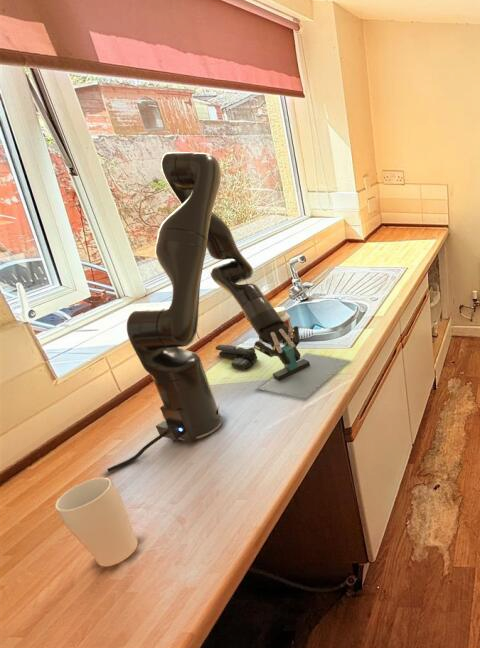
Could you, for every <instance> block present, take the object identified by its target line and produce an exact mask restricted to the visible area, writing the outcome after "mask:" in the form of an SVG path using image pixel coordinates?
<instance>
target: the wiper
mask: <svg viewBox="0 0 480 648" xmlns="http://www.w3.org/2000/svg"><path fill="white" fill-rule="evenodd" d="M281 349H282V351H283V352H284V353H285V354H286V356H287V357H288V359H289V360H290V362H291V363H290V365H286V364H285V365H284V364H283V367H284V368H281V369H279V370H277V371H275V372H273V373H272V378H275V379H277V380H278V381H280V380H282V379H284V378H286V377H288V376H290V375H292V374H294V373H296V372H298V371H300V370H302V369H304V368H306V367H308V366H310V363H309V361H307V360H305V359H302V360H300V361H298V362H297V361H296V357H295V353H294V348H293V347H291V346H289V345H286V346H284V345H283V346H282V347H281Z"/></svg>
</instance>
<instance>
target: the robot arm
mask: <svg viewBox="0 0 480 648" xmlns="http://www.w3.org/2000/svg"><path fill="white" fill-rule="evenodd" d="M160 166H161V171H162V174H163V176H164V178H165V180H166V183H167V184H168V186H169V188H170V189H171V191H172V192H173V193H174V195H175V197H176V198H177V199H178V201H179V203H180V204H181V205H179V206H178V207H177V208H176V209H175V210H174V211H173V212H171V213H170V215H168V217H166V218H165V220H164V221H163V222H162V223H161V225H160V227H159V229H158V234H157V238H156V244H155V248H154V252H155V253H154V254H155V256H156V260H157V261H158V263H159V265H160V266H161V268H162V270H163V271H164V273H165V274H166V276H167V277H168V279H169V281H170V283H171V286H172V297H171V298H172V299H171V302H170V306H159V307H157V306H156V307H143V308H142V307H141V308H138V309H135V310H133V311H132V312H131V313H130V314H129V316H128V318H127V321H126V333H127V337H128V339H129V342H130V344H131V346H132V349H133V351H134V353H135V354H136V356H137V359H138V360H139V361H140V363H141V366H142V367H143V369H144V370H145V371H146V372H147V373H148V374H149V375H150V376H151V379H152V380H153V383H154V385H155V387H156V390H157V392H158V394H159V397H160V399H161V402H162V404H163V405H161V406H160V407H159V409H160V411H161V414H162V416H163V418H164V420H163V421H161V422H160V423H158V424H156V425H155V428H156V430H157V433H158V434H159V435H158V436H157V437H155V438H153V439H152V440H151V441H149V442H148V443H146V444H145V445H144V446H143V447H142V448H141V449H140V450H139V451H138V452H137V453H136V454H134V455H133V456H132V457H130V458H128V459H126V460H124V461H122V462H120V463H117V464H115V465H113V466H111V467H108V468H107V469H106V470H107V472H108V473H111V472H112V471H114V470H117V469H119V468H122V467H125V466H126V465H128V464H130V463H132V462H134V461H135V460H137V459H138V458H139V457H141V456H142V455H143V454H144V452H145V451H146V450H148V449H149V448H150V447H152V446H153V445H154V444H156V442H158V441H160V440H161V439H162V438H166V439H171V440H175V441H176V440H178V441H181V442H186V443H190V444H193V443H195V442H196V441H198V440H200V439H203V438H206V437H209V436H211V435H212V434H214V433H215V432H216V431H218V430H219V428H221V426H222V424H223V422H224V421H223V417H222V415H221V412H220V405H219V404H217V402H216V399H215V396H214V394H213V391H212V388H211V385H210V383H209V380H208V376H207V373H206V371H205V369H204V365H203V363H202V360H201V357H200V356H199V355H198V354H197V352H194V351H191V350H188V349H184V347H187V346H190V345H191V344H192V343H193V341H194V340H195V338H196V335H197V332H198V327H199V315H200V313H199V311H200V294H201V293H200V292H201V281H202V275H203V269H204V264H205V263H204V262H205V258H206V253H207V251H208V254H209V256H210V257H211V258H212V259H214V260H220V261H221V260H222V261H223V260H227V261H224V262H222V263H218V264H215V265H213V266H212V267H211V269H210V277H211V279H212V280H213V281H214V283H216V284H217V285H218V286H219V287H220V288H222V289H223V290H224V291H226V293H228V294H229V295H230V296H231V297H232V298H233V299H234V300H235V302H236V303H237V304H238V306H239V307H240V309H241V310H242V312H243V314H244V316H245V318H246V320H247V322H249V324H250V325H251V327H252V328H253V330H254V331H255V333H256V334H257V336H258V340H256V341H255V343H254V345H253V348H254V349H255V350H257V351H258V352H260V353H262V354H264V355H266V356H268V357H270V358H273V357H277V358H278V359H279V360H280V361H281V363H282V365H283V366H284V365H285V364H286V365H290V363H291V362H290V360H289V359H288V357H287V356H286V354H285V353H284V352H283V351H282V349H281V348H282V347H281V344H282V345H283V347H284V346H286V345H289V346H291V347H293V348H294V353H295V357H296V361H298V360H299V359H300V358H301V356H302V355H301V353H300V352H299V350H298V349H297V347H298V345H299V344H300V342H301V341H300V329H299V326H297V325H295V326H294V327H293V326H292V327H288V326H287V325H285V324H284V323H283V321H282V319H281V318H280V317H279V315H278V314H277V312H276V311H275V309H274V308H275V307H274V306H273V305H272V304H271V302H270V301H269V300H268V299H267V298H266V296H265V295H264V293H263V292H262V291H261V289H260V288H259V286H258V285H257V284H255V283H245V284H244V283H243V284H240V283H241V282H245V281H247V280H250V279H251V278H252V277H253V274H254V269H253V267H252V265H251V264H250V262H249V261H248V260H247V259H246V257H244V255H243V254H242V253H241V251H240V249H239V248H238V246H237V244H236V241H235V239H234V236H233V234H232V231H231V229H230V227H229V226H228V225H227V223H226V222H225V220H223V219H222V218H221V217H220V216H219V215H217V214H216V213H215V212H214V211H213V210H214V207H215V203H216V199H217V196H218V193H219V190H220V187H221V180H222V172H221V171H222V170H221V165H220V162H219V161H218V159H217V158H216V157H215V156H213V155H212V154H209V153H205V152H184V151H172V152H167V153H165V154H163V156H162V158H161V163H160ZM288 331H289V332H290V334H291V335H293V337H292V339H291V338H289V336H288ZM265 344H267V345H269V346H270V347H269V346H267V345H265Z"/></svg>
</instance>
